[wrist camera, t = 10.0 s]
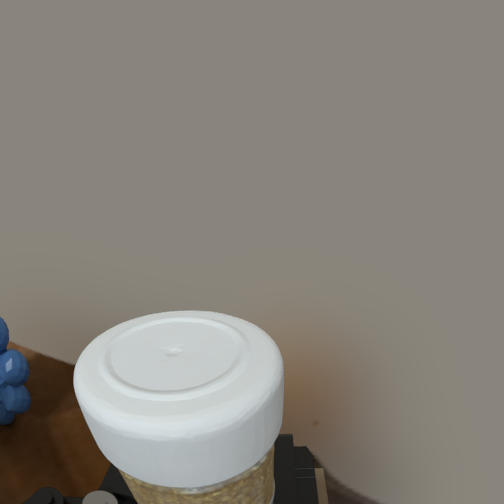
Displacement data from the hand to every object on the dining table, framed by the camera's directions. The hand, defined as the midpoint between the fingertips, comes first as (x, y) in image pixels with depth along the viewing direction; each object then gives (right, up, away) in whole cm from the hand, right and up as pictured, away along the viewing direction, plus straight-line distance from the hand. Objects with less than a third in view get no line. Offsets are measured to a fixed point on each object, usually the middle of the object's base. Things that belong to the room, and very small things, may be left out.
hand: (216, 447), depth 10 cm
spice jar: (0, -8, -1) cm, 8 cm away
